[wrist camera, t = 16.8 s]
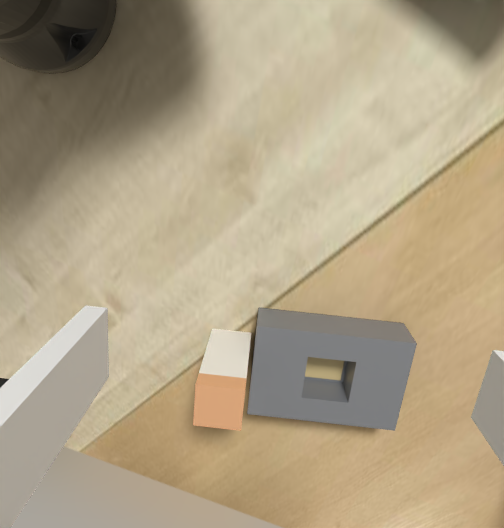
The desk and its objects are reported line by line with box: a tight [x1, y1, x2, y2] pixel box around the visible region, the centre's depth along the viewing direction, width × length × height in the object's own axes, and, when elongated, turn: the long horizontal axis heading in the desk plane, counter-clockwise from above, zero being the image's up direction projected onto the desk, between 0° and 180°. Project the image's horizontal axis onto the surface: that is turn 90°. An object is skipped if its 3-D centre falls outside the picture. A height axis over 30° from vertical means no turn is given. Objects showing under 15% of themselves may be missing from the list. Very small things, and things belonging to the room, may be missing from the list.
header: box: [247, 308, 417, 430], centre depth 51 cm, size 18×12×5 cm, turn 84°
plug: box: [193, 328, 251, 431], centre depth 48 cm, size 5×5×12 cm
